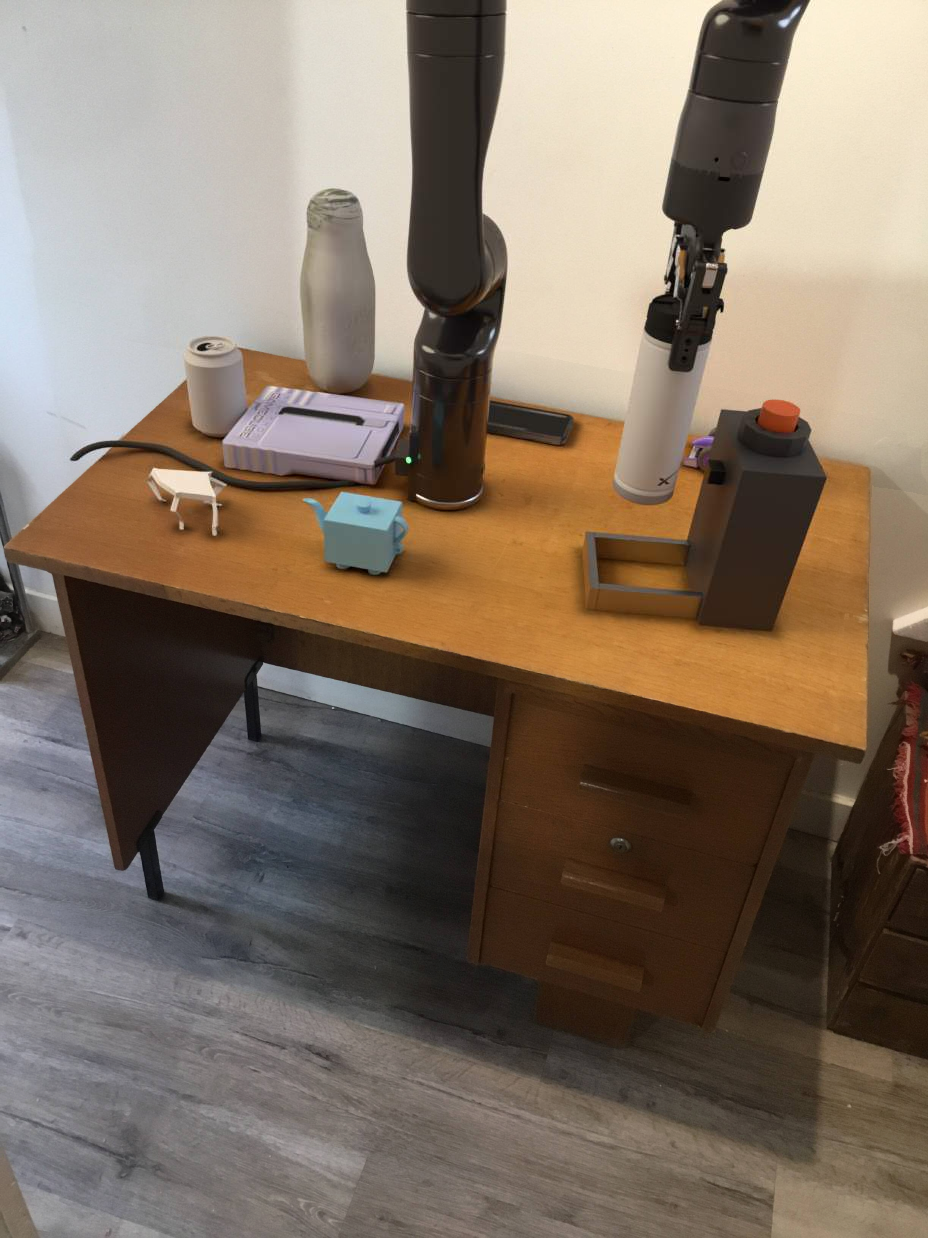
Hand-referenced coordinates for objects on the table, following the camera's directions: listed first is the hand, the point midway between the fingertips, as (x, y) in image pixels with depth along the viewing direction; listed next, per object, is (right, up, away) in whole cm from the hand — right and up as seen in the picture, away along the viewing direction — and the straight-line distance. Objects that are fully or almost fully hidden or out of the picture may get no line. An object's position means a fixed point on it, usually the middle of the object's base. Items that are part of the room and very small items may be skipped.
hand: (674, 353), depth 84 cm
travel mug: (-1, -11, +9) cm, 15 cm away
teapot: (-32, -18, +19) cm, 41 cm away
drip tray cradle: (0, -21, +19) cm, 28 cm away
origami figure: (-52, -12, +24) cm, 59 cm away
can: (-53, +2, +41) cm, 67 cm away
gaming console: (-39, -1, +39) cm, 55 cm away
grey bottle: (-38, +10, +53) cm, 66 cm away
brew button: (+11, -6, +6) cm, 14 cm away
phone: (-12, +3, +47) cm, 49 cm away
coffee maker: (+10, -22, +18) cm, 30 cm away
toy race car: (+19, -4, +42) cm, 46 cm away
